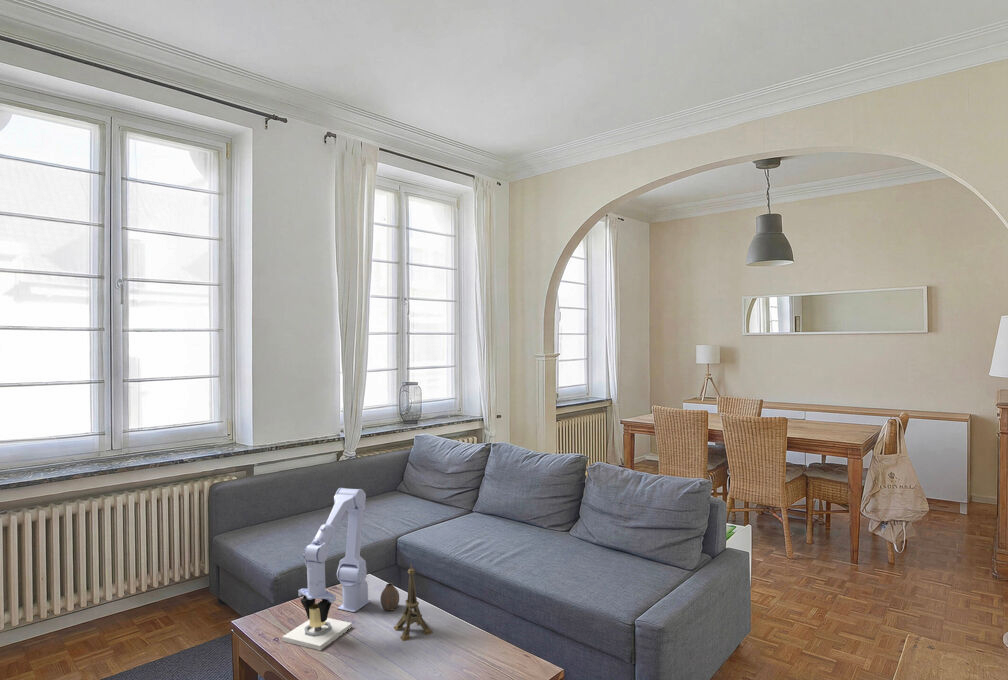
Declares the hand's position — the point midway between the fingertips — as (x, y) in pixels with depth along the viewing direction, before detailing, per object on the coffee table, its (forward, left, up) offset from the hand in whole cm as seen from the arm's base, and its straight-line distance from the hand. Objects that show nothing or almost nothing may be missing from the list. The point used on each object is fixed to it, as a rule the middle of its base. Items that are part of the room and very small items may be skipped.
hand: (317, 619), depth 201 cm
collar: (0, 0, -1) cm, 1 cm away
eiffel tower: (-14, +29, -5) cm, 33 cm away
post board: (0, 0, -5) cm, 5 cm away
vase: (-25, +12, -5) cm, 28 cm away
